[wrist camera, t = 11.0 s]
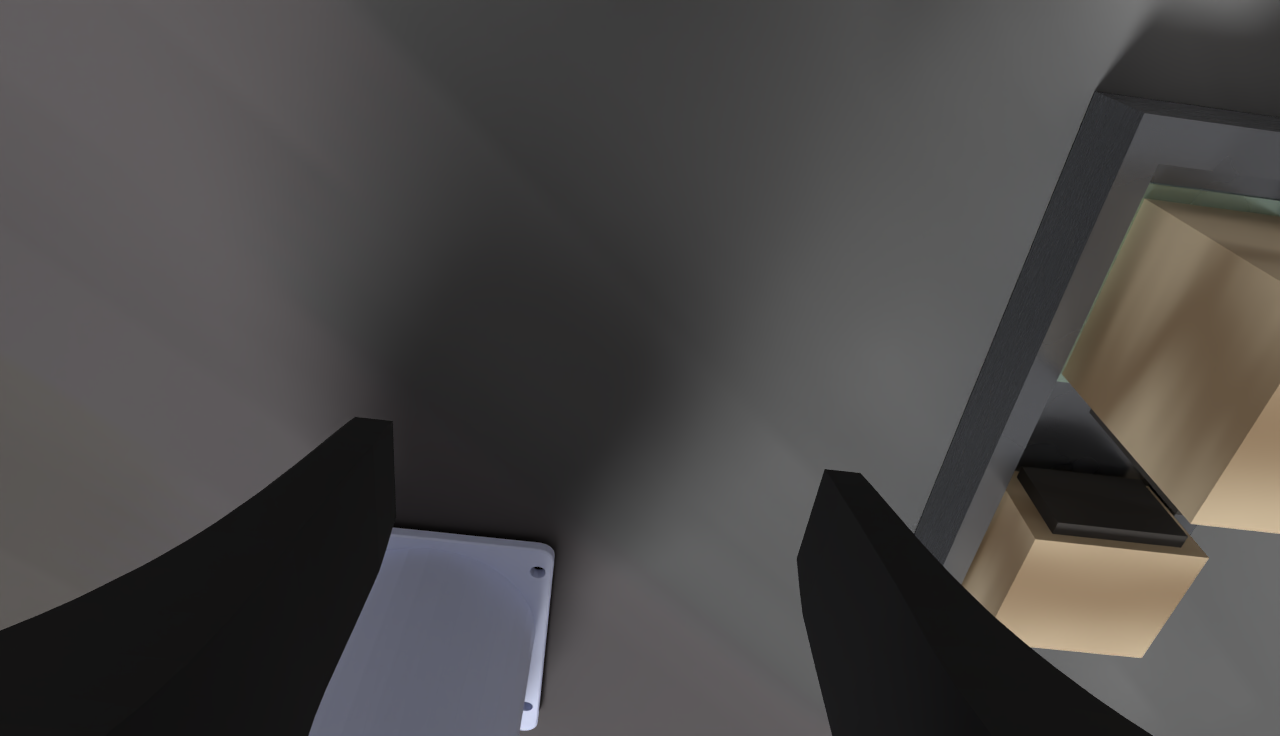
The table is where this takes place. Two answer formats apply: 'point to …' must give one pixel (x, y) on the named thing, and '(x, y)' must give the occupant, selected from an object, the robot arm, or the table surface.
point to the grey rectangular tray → (1085, 299)
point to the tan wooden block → (1192, 361)
